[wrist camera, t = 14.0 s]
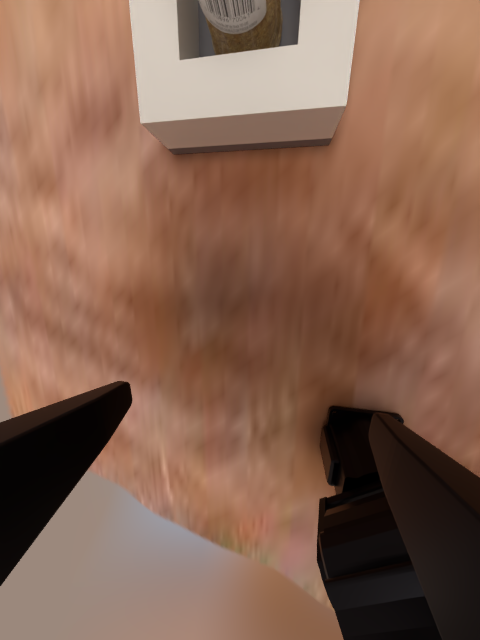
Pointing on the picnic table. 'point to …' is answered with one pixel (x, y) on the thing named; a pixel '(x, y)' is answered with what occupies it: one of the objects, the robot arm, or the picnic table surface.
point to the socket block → (242, 78)
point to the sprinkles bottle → (243, 24)
